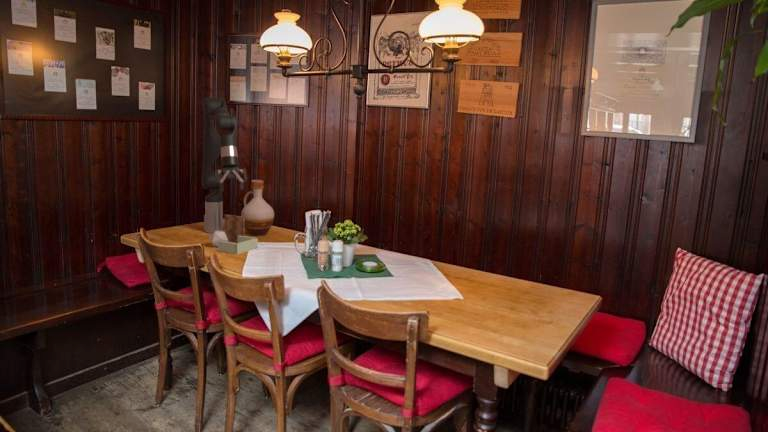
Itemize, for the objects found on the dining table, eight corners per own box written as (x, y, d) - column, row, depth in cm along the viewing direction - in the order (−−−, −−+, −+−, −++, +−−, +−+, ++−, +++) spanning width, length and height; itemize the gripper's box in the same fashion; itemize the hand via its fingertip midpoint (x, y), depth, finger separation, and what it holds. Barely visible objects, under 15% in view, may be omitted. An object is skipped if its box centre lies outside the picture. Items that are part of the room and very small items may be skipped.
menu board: (222, 241, 297) (221, 215, 294) (228, 240, 301) (228, 213, 299) (240, 244, 292) (240, 217, 289) (247, 242, 296) (247, 216, 294)
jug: (232, 234, 315) (231, 179, 310) (256, 229, 330) (255, 177, 324) (257, 239, 305) (257, 183, 299) (281, 234, 319) (281, 180, 314)
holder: (218, 251, 277) (218, 241, 277) (239, 245, 291) (239, 235, 290) (237, 254, 273) (237, 244, 272) (257, 247, 286) (257, 238, 285)
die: (231, 247, 289) (226, 230, 292) (225, 242, 281) (221, 224, 284) (216, 252, 289) (211, 235, 292) (210, 248, 280) (205, 230, 284)
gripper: (244, 158, 274) (247, 191, 272) (213, 159, 269) (215, 193, 267) (245, 154, 267) (248, 189, 265) (214, 155, 262) (216, 190, 260)
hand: (232, 191), depth 266 cm, fingers open, 8 cm apart
